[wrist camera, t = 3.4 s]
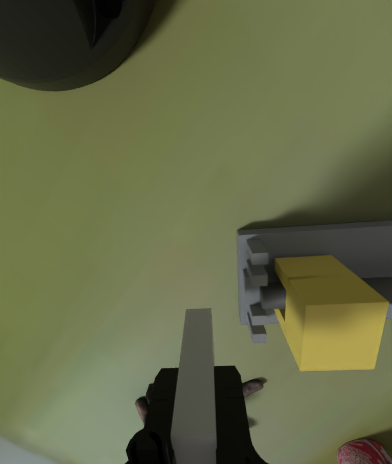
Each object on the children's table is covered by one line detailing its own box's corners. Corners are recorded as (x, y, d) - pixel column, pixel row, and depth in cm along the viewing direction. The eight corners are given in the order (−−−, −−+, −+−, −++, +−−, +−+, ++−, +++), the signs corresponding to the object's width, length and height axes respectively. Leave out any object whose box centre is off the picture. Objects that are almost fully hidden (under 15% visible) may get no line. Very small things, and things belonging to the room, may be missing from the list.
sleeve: (273, 308, 18) (300, 370, 13) (274, 258, 17) (305, 305, 12) (325, 306, 18) (374, 369, 13) (331, 254, 16) (389, 302, 11)
